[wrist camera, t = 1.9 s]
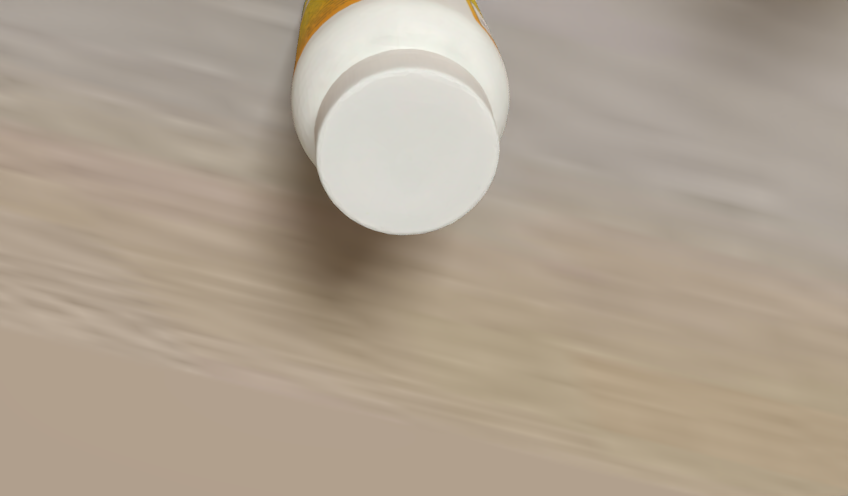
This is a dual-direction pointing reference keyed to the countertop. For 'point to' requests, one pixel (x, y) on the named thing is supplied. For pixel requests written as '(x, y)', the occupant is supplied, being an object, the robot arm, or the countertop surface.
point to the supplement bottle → (400, 108)
